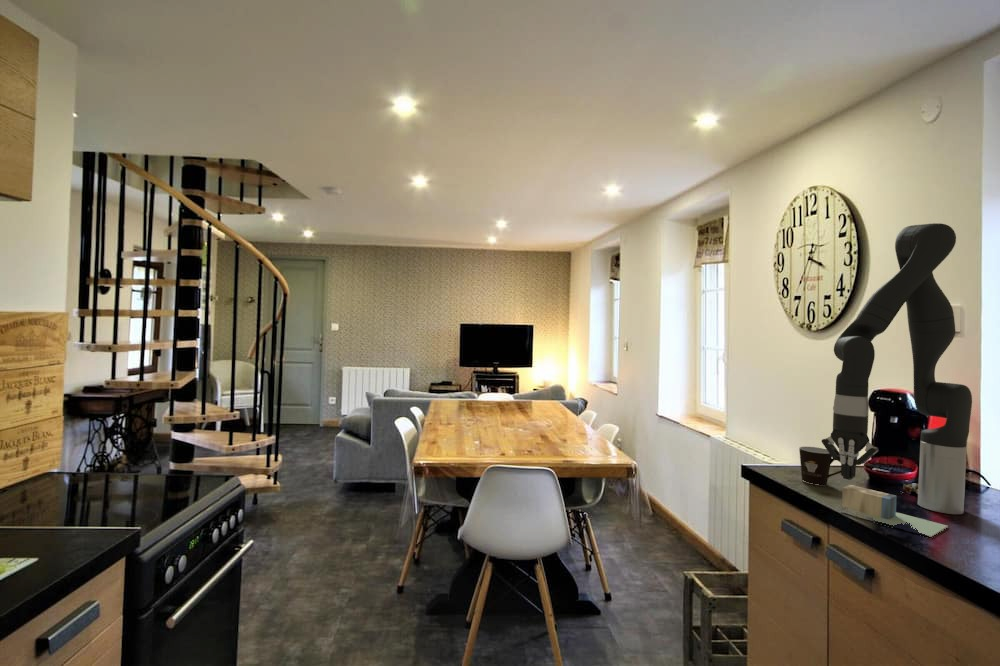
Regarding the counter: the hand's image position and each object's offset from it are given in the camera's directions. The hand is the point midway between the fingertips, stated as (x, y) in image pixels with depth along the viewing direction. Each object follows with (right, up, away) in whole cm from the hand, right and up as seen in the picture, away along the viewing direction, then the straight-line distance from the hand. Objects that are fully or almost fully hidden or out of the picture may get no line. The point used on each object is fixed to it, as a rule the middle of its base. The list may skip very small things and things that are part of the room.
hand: (847, 478), depth 133 cm
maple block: (0, -5, 0) cm, 5 cm away
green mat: (+6, -8, -8) cm, 12 cm away
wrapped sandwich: (+31, -9, +12) cm, 35 cm away
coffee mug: (+5, -8, +20) cm, 22 cm away
